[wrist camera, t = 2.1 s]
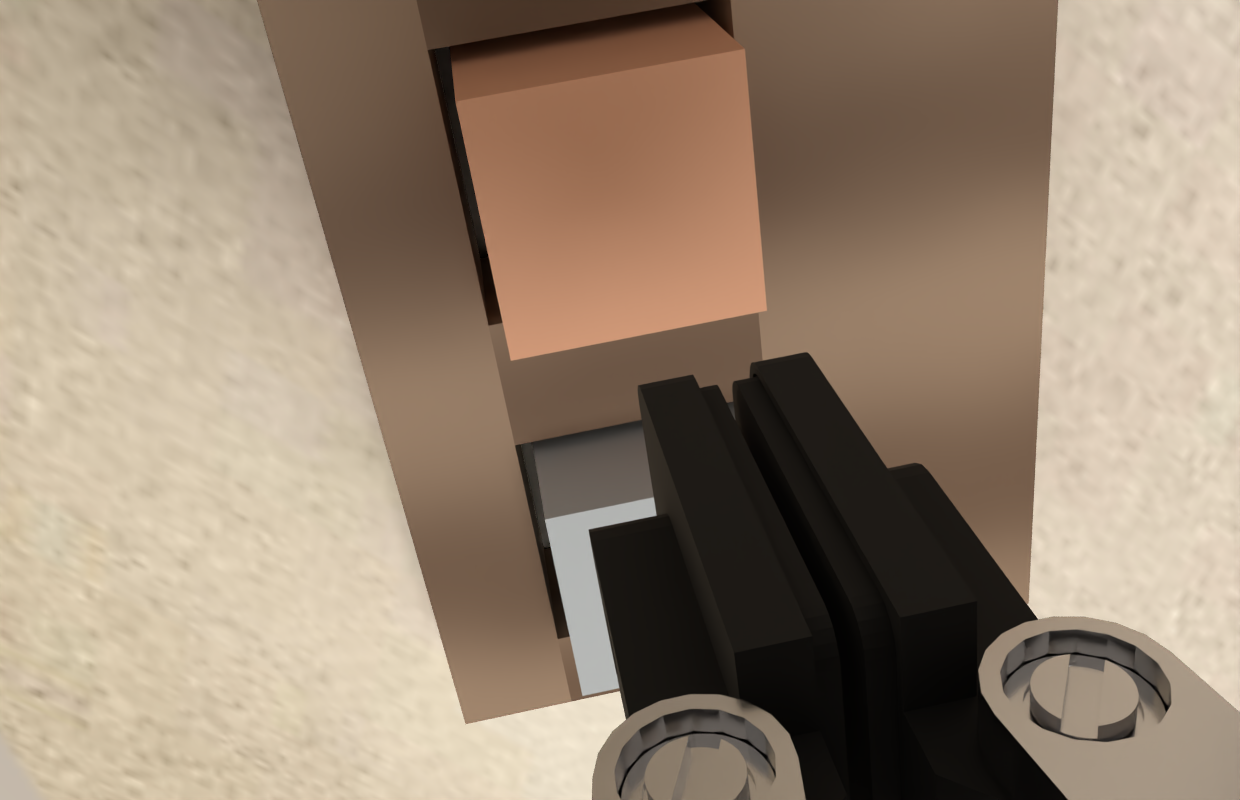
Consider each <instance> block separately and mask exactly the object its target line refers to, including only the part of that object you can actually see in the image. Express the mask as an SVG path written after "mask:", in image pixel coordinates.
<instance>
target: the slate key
mask: <svg viewBox="0 0 1240 800" xmlns="http://www.w3.org/2000/svg"><path fill="white" fill-rule="evenodd" d="M727 404H728V406H729V409H730V411H731V413H732V415H733V417H734V419H735V413H734V404H733V402H728V403H727ZM532 444H533V450H534V456H535V463H536V469H537V475H538V481H539V487H540V493H541V499H542V505H543V511H544V518H545V523H546V527H547V532H548V537H549V541H550V546H551V551H552V555H553V560H554V565H555V569H556V574H557V579H558V583H559V588H560V593H561V597H562V602H563V607H564V612H565V616H566V621H567V626H568V630H569V635H570V640H571V644H572V649H573V654H574V658H575V663H576V668H577V672H578V677H579V682H580V686H581V691H582V696H585V695H590V694H594V693H599V692H604V691H608V690H613V689H617V688H619V684H618V679H617V674H616V669H615V664H614V660H613V655H612V650H611V645H610V640H609V635H608V630H607V625H606V620H605V615H604V610H603V605H602V599H601V594H600V589H599V584H598V579H597V573H596V568H595V563H594V558H593V553H592V547H591V542H590V536H589V529H593V528H598V527H603V526H608V525H613V524H618V523H623V522H628V521H632V520H637V519H642V518H647V517H652V516H657V515H656V509H655V502H654V496H653V489H652V483H651V477H650V470H649V464H648V457H647V451H646V445H645V438H644V432H643V425H642V420H639V421H634V422H629V423H624V424H619V425H614V426H609V427H604V428H599V429H594V430H589V431H584V432H579V433H574V434H569V435H564V436H559V437H554V438H549V439H544V440H539V441H534V442H532Z"/></svg>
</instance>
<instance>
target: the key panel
mask: <svg viewBox="0 0 1240 800" xmlns="http://www.w3.org/2000/svg"><path fill="white" fill-rule="evenodd" d="M257 2H258V5H259V9H260V12H261V15H262V19H263V22H264V26H265V29H266V33H267V36H268V40H269V43H270V47H271V50H272V54H273V57H274V61H275V64H276V67H277V71H278V74H279V78H280V81H281V85H282V88H283V92H284V95H285V99H286V102H287V106H288V109H289V113H290V116H291V120H292V123H293V126H294V130H295V133H296V137H297V140H298V144H299V147H300V151H301V154H302V158H303V161H304V165H305V168H306V172H307V175H308V178H309V182H310V185H311V189H312V192H313V196H314V199H315V203H316V206H317V210H318V213H319V217H320V220H321V224H322V227H323V231H324V234H325V237H326V241H327V244H328V248H329V251H330V255H331V258H332V262H333V265H334V269H335V272H336V276H337V279H338V283H339V286H340V289H341V293H342V296H343V300H344V303H345V307H346V310H347V314H348V317H349V321H350V324H351V328H352V331H353V335H354V338H355V342H356V345H357V348H358V352H359V355H360V359H361V362H362V366H363V369H364V373H365V376H366V380H367V383H368V387H369V390H370V394H371V397H372V400H373V404H374V407H375V411H376V414H377V418H378V421H379V425H380V428H381V432H382V435H383V439H384V442H385V446H386V449H387V453H388V456H389V459H390V463H391V466H392V470H393V473H394V477H395V480H396V484H397V487H398V491H399V494H400V498H401V501H402V505H403V508H404V511H405V515H406V518H407V522H408V525H409V529H410V532H411V536H412V539H413V543H414V546H415V550H416V553H417V557H418V560H419V564H420V567H421V570H422V574H423V577H424V581H425V584H426V588H427V591H428V595H429V598H430V602H431V605H432V609H433V612H434V616H435V619H436V623H437V626H438V629H439V633H440V636H441V640H442V643H443V647H444V650H445V654H446V657H447V661H448V664H449V668H450V671H451V675H452V678H453V681H454V685H455V688H456V692H457V695H458V699H459V702H460V706H461V709H462V713H463V716H464V720H465V723H466V724H468V723H473V722H478V721H482V720H487V719H492V718H496V717H501V716H506V715H510V714H515V713H520V712H524V711H529V710H534V709H538V708H543V707H548V706H552V705H557V704H562V703H566V702H571V701H576V700H580V699H585V698H589V697H594V696H599V695H603V694H608V693H613V692H617V691H620V688H617V689H613V690H608V691H604V692H599V693H594V694H590V695H585V696H582V691H581V686H580V682H579V677H578V672H577V668H576V663H575V658H574V654H573V649H572V644H571V640H570V635H569V630H568V626H567V621H566V616H565V612H564V607H563V602H562V597H561V593H560V588H559V583H558V579H557V574H556V569H555V565H554V560H553V555H552V551H551V548H548V549H544V548H543V544H542V539H541V534H540V530H539V525H538V521H537V516H536V512H535V507H534V502H533V498H532V493H531V489H530V484H529V479H528V475H527V470H526V466H525V461H524V456H523V452H522V447H521V444H524V443H529V442H534V441H539V440H544V439H549V438H554V437H559V436H564V435H569V434H574V433H579V432H584V431H589V430H594V429H599V428H604V427H609V426H614V425H619V424H624V423H629V422H634V421H639V420H642V419H641V413H640V406H639V399H638V385H642V384H647V383H652V382H657V381H662V380H667V379H672V378H677V377H682V376H687V375H694V377H695V379H696V381H697V383H698V385H699V387H700V388H702V387H707V386H712V385H718V386H719V388H720V390H721V392H722V394H723V396H724V398H725V400H726V402H727V403H728V402H733V394H732V384H733V381H737V380H742V379H747V378H750V365H751V363H753V362H758V361H763V360H768V359H773V358H778V357H783V356H788V355H793V354H798V353H803V352H808V353H809V354H810V355H811V356H812V358H813V359H814V361H815V362H816V364H817V365H818V367H819V368H820V370H821V371H822V373H823V374H824V376H825V377H826V379H827V380H828V381H829V383H830V384H831V386H832V387H833V389H834V390H835V392H836V393H837V395H838V396H839V398H840V399H841V401H842V402H843V404H844V405H845V407H846V408H847V410H848V411H849V412H850V414H851V415H852V417H853V418H854V420H855V421H856V423H857V424H858V426H859V427H860V429H861V430H862V432H863V433H864V435H865V436H866V438H867V439H868V440H869V442H870V443H871V445H872V446H873V448H874V449H875V451H876V452H877V454H878V455H879V457H880V458H881V460H882V461H883V463H884V464H885V466H886V467H887V468H891V467H896V466H901V465H906V464H911V463H919V464H922V465H923V466H924V467H925V468H926V469H927V470H928V471H929V472H930V473H931V475H932V476H933V477H934V479H935V480H936V481H937V483H938V484H939V486H940V487H941V488H942V490H943V491H944V492H945V494H946V495H947V496H948V498H949V499H950V500H951V502H952V503H953V505H954V506H955V507H956V509H957V510H958V511H959V513H960V514H961V515H962V517H963V518H964V519H965V521H966V522H967V524H968V525H969V526H970V528H971V529H972V530H973V532H974V533H975V534H976V536H977V537H978V538H979V540H980V541H981V543H982V544H983V545H984V547H985V548H986V549H987V551H988V552H989V553H990V555H991V556H992V558H993V559H994V560H995V562H996V563H997V564H998V566H999V567H1000V568H1001V570H1002V571H1003V572H1004V574H1005V575H1006V577H1007V578H1008V579H1009V581H1010V582H1011V583H1012V585H1013V586H1014V587H1015V589H1016V590H1017V591H1018V593H1019V594H1020V596H1021V597H1022V598H1023V600H1024V601H1025V602H1026V604H1027V603H1029V582H1030V562H1031V541H1032V521H1033V501H1034V480H1035V460H1036V440H1037V419H1038V399H1039V378H1040V358H1041V338H1042V317H1043V297H1044V277H1045V256H1046V236H1047V215H1048V195H1049V175H1050V154H1051V134H1052V114H1053V93H1054V73H1055V52H1056V32H1057V12H1058V0H257ZM688 3H695V4H696V5H697V6H698V7H699V8H700V9H701V10H703V11H704V12H705V13H706V14H707V15H708V16H709V17H710V18H711V19H713V20H714V21H715V22H716V23H717V24H718V25H719V26H720V27H721V28H722V29H724V30H725V31H726V32H727V33H728V34H729V35H730V36H731V37H732V38H733V39H735V40H736V41H737V42H738V43H739V44H740V45H741V46H742V47H743V48H744V49H745V56H746V68H747V80H748V91H749V103H750V115H751V127H752V139H753V151H754V162H755V174H756V186H757V198H758V210H759V221H760V233H761V245H762V257H763V269H764V281H765V292H766V304H767V311H763V312H758V313H752V314H747V315H742V316H737V317H732V318H727V319H722V320H717V321H712V322H707V323H701V324H696V325H691V326H686V327H681V328H676V329H671V330H666V331H661V332H656V333H650V334H645V335H640V336H635V337H630V338H625V339H620V340H615V341H610V342H604V343H599V344H594V345H589V346H584V347H579V348H574V349H569V350H564V351H559V352H553V353H548V354H543V355H538V356H533V357H528V358H523V359H518V360H513V361H511V359H510V354H509V350H508V345H507V340H506V336H505V331H504V326H503V322H502V317H501V312H500V308H499V303H498V298H497V294H496V289H495V284H494V280H493V275H492V270H491V266H490V261H489V257H486V258H481V259H480V255H479V250H478V245H477V241H476V236H475V232H474V227H473V222H472V218H471V213H470V209H469V204H468V200H467V195H466V190H465V186H464V181H463V177H462V172H461V167H460V163H459V158H458V154H457V149H456V145H455V140H454V135H453V131H452V126H451V122H450V117H449V112H448V108H447V103H446V99H445V94H444V89H443V85H442V80H441V76H440V71H439V67H438V62H437V57H436V53H435V49H436V48H442V47H447V46H453V45H459V44H464V43H470V42H475V41H481V40H487V39H492V38H498V37H503V36H509V35H515V34H520V33H526V32H531V31H537V30H543V29H548V28H554V27H559V26H565V25H571V24H576V23H582V22H587V21H593V20H599V19H604V18H610V17H615V16H621V15H627V14H632V13H638V12H643V11H649V10H655V9H660V8H666V7H671V6H677V5H683V4H688Z"/></svg>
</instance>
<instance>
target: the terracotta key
mask: <svg viewBox="0 0 1240 800" xmlns="http://www.w3.org/2000/svg"><path fill="white" fill-rule="evenodd" d="M450 54H451V64H452V73H453V83H454V93H455V102H456V107H457V111H458V116H459V121H460V125H461V130H462V135H463V139H464V144H465V149H466V153H467V158H468V163H469V167H470V172H471V177H472V181H473V186H474V191H475V195H476V200H477V205H478V209H479V214H480V219H481V223H482V228H483V233H484V237H485V242H486V247H487V251H488V256H489V261H490V266H491V270H492V275H493V280H494V284H495V289H496V294H497V298H498V303H499V308H500V312H501V317H502V322H503V326H504V331H505V336H506V340H507V345H508V350H509V354H510V359H511V361H513V360H518V359H523V358H528V357H533V356H538V355H543V354H548V353H553V352H559V351H564V350H569V349H574V348H579V347H584V346H589V345H594V344H599V343H604V342H610V341H615V340H620V339H625V338H630V337H635V336H640V335H645V334H650V333H656V332H661V331H666V330H671V329H676V328H681V327H686V326H691V325H696V324H701V323H707V322H712V321H717V320H722V319H727V318H732V317H737V316H742V315H747V314H752V313H758V312H763V311H767V304H766V292H765V281H764V269H763V257H762V245H761V233H760V221H759V210H758V198H757V186H756V174H755V162H754V151H753V139H752V127H751V115H750V103H749V91H748V80H747V68H746V56H745V49H744V48H743V47H742V46H741V45H740V44H739V43H738V42H737V41H736V40H735V39H733V38H732V37H731V36H730V35H729V34H728V33H727V32H726V31H725V30H724V29H722V28H721V27H720V26H719V25H718V24H717V23H716V22H715V21H714V20H713V19H711V18H710V17H709V16H708V15H707V14H706V13H705V12H704V11H703V10H701V9H700V8H699V7H698V6H697V5H696V4H695V3H688V4H683V5H677V6H671V7H666V8H660V9H655V10H649V11H643V12H638V13H632V14H627V15H621V16H615V17H610V18H604V19H599V20H593V21H587V22H582V23H576V24H571V25H565V26H559V27H554V28H548V29H543V30H537V31H531V32H526V33H520V34H515V35H509V36H503V37H498V38H492V39H487V40H481V41H475V42H470V43H464V44H459V45H453V46H450Z"/></svg>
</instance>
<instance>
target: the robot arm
mask: <svg viewBox="0 0 1240 800" xmlns="http://www.w3.org/2000/svg"><path fill="white" fill-rule="evenodd" d="M732 394H733V404H734V413H735V419H734V417H733V415H732V413H731V411H730V409H729V406H728V404H727V402H726V400H725V398H724V396H723V394H722V392H721V390H720V388H719V386H718V385H712V386H707V387H702V388H700V387H699V385H698V383H697V381H696V379H695V377H694V375H687V376H682V377H677V378H672V379H667V380H662V381H657V382H652V383H647V384H642V385H638V399H639V406H640V413H641V419H642V425H643V432H644V438H645V445H646V451H647V457H648V464H649V470H650V477H651V483H652V489H653V496H654V502H655V509H656V515H657V516H652V517H647V518H642V519H637V520H632V521H628V522H623V523H618V524H613V525H608V526H603V527H598V528H593V529H589V536H590V542H591V547H592V553H593V558H594V563H595V568H596V573H597V579H598V584H599V589H600V594H601V599H602V605H603V610H604V615H605V620H606V625H607V630H608V635H609V640H610V645H611V650H612V655H613V660H614V664H615V669H616V674H617V679H618V684H619V688H620V693H621V698H622V703H623V707H624V712H625V717H626V720H625V721H624V722H623V723H622V724H621V725H619V726H618V727H617V728H616V729H615V730H613V731H612V733H611V734H610V736H609V737H608V739H607V740H606V742H605V744H604V745H603V747H602V748H601V750H600V751H599V753H598V756H597V760H596V765H595V769H594V773H593V779H592V800H1240V712H1239V711H1238V710H1237V709H1235V708H1234V707H1233V706H1232V705H1231V704H1230V703H1229V702H1227V701H1226V700H1225V699H1224V698H1223V697H1222V696H1221V695H1219V694H1218V693H1217V692H1216V691H1215V690H1214V689H1213V688H1211V687H1210V686H1209V685H1208V684H1207V683H1206V682H1205V681H1204V680H1202V679H1201V678H1200V677H1199V676H1198V675H1197V674H1196V673H1194V672H1193V671H1192V670H1191V669H1190V668H1189V667H1188V666H1186V665H1185V664H1184V663H1183V662H1182V661H1181V660H1180V659H1179V658H1177V657H1176V656H1175V655H1174V654H1173V653H1172V652H1170V651H1169V650H1167V649H1166V648H1165V647H1163V646H1162V645H1160V644H1159V643H1157V642H1156V641H1154V640H1153V639H1151V638H1150V637H1148V636H1147V635H1145V634H1143V633H1140V632H1138V631H1135V630H1133V629H1130V628H1128V627H1125V626H1123V625H1120V624H1118V623H1114V622H1109V621H1104V620H1099V619H1094V618H1088V617H1049V618H1044V619H1039V620H1038V619H1037V617H1036V616H1035V615H1034V613H1033V612H1032V610H1031V609H1030V608H1029V606H1028V605H1027V604H1026V602H1025V601H1024V600H1023V598H1022V597H1021V596H1020V594H1019V593H1018V591H1017V590H1016V589H1015V587H1014V586H1013V585H1012V583H1011V582H1010V581H1009V579H1008V578H1007V577H1006V575H1005V574H1004V572H1003V571H1002V570H1001V568H1000V567H999V566H998V564H997V563H996V562H995V560H994V559H993V558H992V556H991V555H990V553H989V552H988V551H987V549H986V548H985V547H984V545H983V544H982V543H981V541H980V540H979V538H978V537H977V536H976V534H975V533H974V532H973V530H972V529H971V528H970V526H969V525H968V524H967V522H966V521H965V519H964V518H963V517H962V515H961V514H960V513H959V511H958V510H957V509H956V507H955V506H954V505H953V503H952V502H951V500H950V499H949V498H948V496H947V495H946V494H945V492H944V491H943V490H942V488H941V487H940V486H939V484H938V483H937V481H936V480H935V479H934V477H933V476H932V475H931V473H930V472H929V471H928V470H927V469H926V468H925V467H924V466H923V465H922V464H919V463H911V464H906V465H901V466H896V467H891V468H887V467H886V466H885V464H884V463H883V461H882V460H881V458H880V457H879V455H878V454H877V452H876V451H875V449H874V448H873V446H872V445H871V443H870V442H869V440H868V439H867V438H866V436H865V435H864V433H863V432H862V430H861V429H860V427H859V426H858V424H857V423H856V421H855V420H854V418H853V417H852V415H851V414H850V412H849V411H848V410H847V408H846V407H845V405H844V404H843V402H842V401H841V399H840V398H839V396H838V395H837V393H836V392H835V390H834V389H833V387H832V386H831V384H830V383H829V381H828V380H827V379H826V377H825V376H824V374H823V373H822V371H821V370H820V368H819V367H818V365H817V364H816V362H815V361H814V359H813V358H812V356H811V355H810V354H809V353H808V352H803V353H798V354H793V355H788V356H783V357H778V358H773V359H768V360H763V361H758V362H753V363H751V365H750V378H747V379H742V380H737V381H733V384H732Z"/></svg>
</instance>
